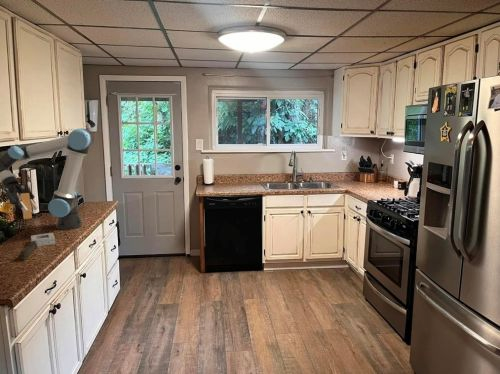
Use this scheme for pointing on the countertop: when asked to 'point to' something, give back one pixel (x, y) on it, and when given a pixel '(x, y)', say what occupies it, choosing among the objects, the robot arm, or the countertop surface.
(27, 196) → the orange rectangular block
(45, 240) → the square frame
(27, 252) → the hand tool
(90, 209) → the countertop surface
